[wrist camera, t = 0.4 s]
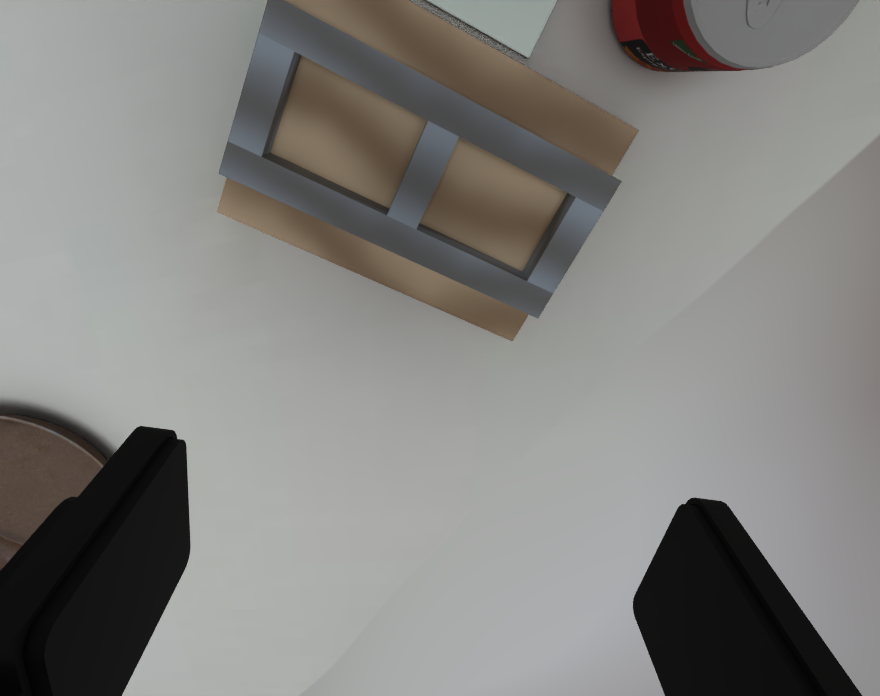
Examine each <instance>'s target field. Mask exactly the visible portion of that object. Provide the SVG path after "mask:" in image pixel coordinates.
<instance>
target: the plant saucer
mask: <svg viewBox="0 0 880 696" xmlns="http://www.w3.org/2000/svg"><path fill="white" fill-rule="evenodd" d="M107 462H108V460H107V459H106V458H105V457H104V456H103V455H102V454H101V453H100V452H99V451H98V450H97V449H96V448H95V447H93V446H92V445H91V444H90V443H88V442H87V441H86V440H84V439H83V438H81V437H79V436H78V435H76V434H74V433H72V432H71V431H69V430H66V429H64V428H62V427H60V426H58V425H55V424H52V423H50V422H47V421H43V420H40V419H36V418H31V417H26V416H19V415H10V414H0V571H1V570H2V568H3V567H4V566H5V565H6V564H7V563H8V562H9V560H10V559H11V558H12V557H13V556H14V555H15V554H16V552H17V551H18V550H19V549H20V548H21V547H22V546H23V544H24V543H25V542H26V541H27V540H28V539H29V538H30V536H31V535H32V534H33V533H34V532H35V531H36V530H37V528H38V527H39V526H40V525H41V524H42V523H43V522H44V520H45V519H46V518H47V517H48V516H49V515H50V514H51V512H52V511H53V510H54V509H55V508H56V507H57V506H58V505H59V504H60V503H61V502H62V501H63V500H65V499H67V498H69V497H71V496H72V497H78V496H79V495H80V494H81V493H82V491H83V490H84V489H85V488H86V487H87V485H88V484H89V483H90V482H91V481H92V479H93V478H94V477H95V476H96V475H97V474H98V472H99V471H100V470H101V469H102V468H103V466H104V465H105V464H106V463H107Z"/></svg>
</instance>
